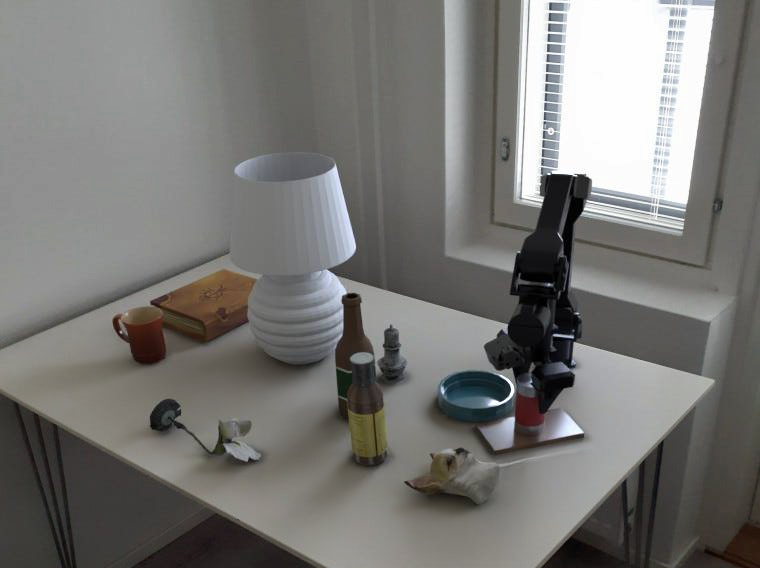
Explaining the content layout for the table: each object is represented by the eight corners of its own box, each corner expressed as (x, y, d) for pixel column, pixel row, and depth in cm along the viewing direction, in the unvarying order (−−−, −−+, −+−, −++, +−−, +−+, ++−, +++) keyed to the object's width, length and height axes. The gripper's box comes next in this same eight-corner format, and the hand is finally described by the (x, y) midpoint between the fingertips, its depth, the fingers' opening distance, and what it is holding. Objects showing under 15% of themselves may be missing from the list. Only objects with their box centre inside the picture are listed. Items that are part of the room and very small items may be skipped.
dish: (495, 378, 171) (496, 364, 170) (525, 415, 160) (526, 400, 158) (427, 391, 169) (427, 377, 167) (453, 429, 157) (453, 414, 155)
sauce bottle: (379, 443, 154) (375, 344, 144) (393, 461, 149) (389, 360, 139) (345, 452, 152) (339, 352, 142) (358, 471, 147) (352, 369, 137)
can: (536, 418, 157) (539, 370, 151) (549, 433, 152) (553, 384, 147) (509, 423, 156) (511, 375, 150) (521, 438, 151) (524, 389, 146)
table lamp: (385, 345, 186) (378, 159, 165) (305, 395, 170) (286, 196, 149) (300, 316, 200) (283, 141, 179) (218, 359, 184) (190, 173, 163)
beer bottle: (383, 403, 166) (379, 288, 153) (371, 425, 159) (365, 307, 147) (345, 398, 168) (338, 284, 155) (331, 419, 162) (322, 302, 149)
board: (560, 412, 160) (561, 407, 159) (584, 438, 152) (584, 432, 152) (474, 429, 157) (475, 423, 156) (494, 456, 149) (494, 450, 148)
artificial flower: (183, 422, 166) (190, 375, 162) (263, 476, 154) (273, 427, 150) (145, 432, 159) (152, 383, 155) (226, 489, 147) (235, 438, 143)
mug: (178, 351, 188) (170, 308, 183) (156, 370, 181) (147, 326, 176) (132, 344, 192) (123, 302, 187) (109, 362, 185) (99, 319, 180)
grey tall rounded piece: (405, 386, 171) (403, 331, 164) (375, 384, 172) (373, 330, 166) (409, 371, 176) (408, 318, 169) (381, 369, 177) (378, 317, 170)
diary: (208, 344, 190) (204, 321, 187) (154, 323, 201) (149, 301, 197) (280, 307, 205) (278, 284, 202) (226, 289, 215) (223, 268, 212)
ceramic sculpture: (485, 476, 130) (399, 454, 137) (486, 522, 134) (402, 498, 141) (513, 441, 137) (430, 422, 145) (514, 486, 141) (433, 465, 149)
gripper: (469, 304, 148) (468, 382, 157) (514, 352, 133) (509, 436, 141) (529, 294, 151) (524, 372, 159) (580, 340, 135) (572, 424, 144)
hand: (531, 400), depth 151 cm, fingers open, 9 cm apart
